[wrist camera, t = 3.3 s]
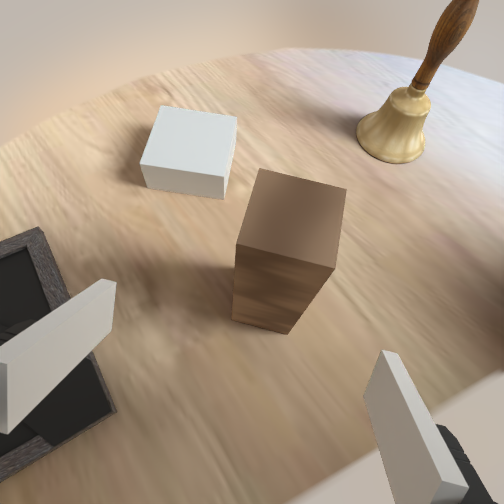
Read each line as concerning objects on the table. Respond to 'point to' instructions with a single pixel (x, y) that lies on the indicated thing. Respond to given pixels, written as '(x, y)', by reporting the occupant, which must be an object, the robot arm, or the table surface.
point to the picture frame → (73, 385)
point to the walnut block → (285, 249)
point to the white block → (190, 152)
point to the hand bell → (414, 94)
